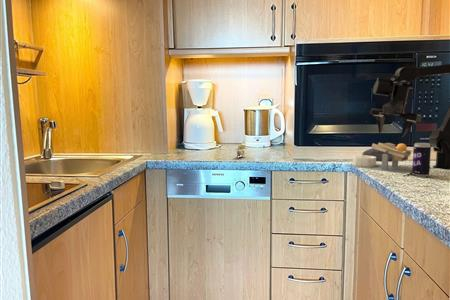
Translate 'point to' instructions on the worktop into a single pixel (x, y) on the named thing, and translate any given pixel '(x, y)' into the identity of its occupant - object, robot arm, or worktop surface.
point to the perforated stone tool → (377, 154)
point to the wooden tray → (392, 151)
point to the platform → (240, 150)
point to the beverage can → (421, 159)
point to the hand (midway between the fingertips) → (390, 135)
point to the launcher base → (388, 166)
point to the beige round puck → (364, 161)
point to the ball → (401, 147)
